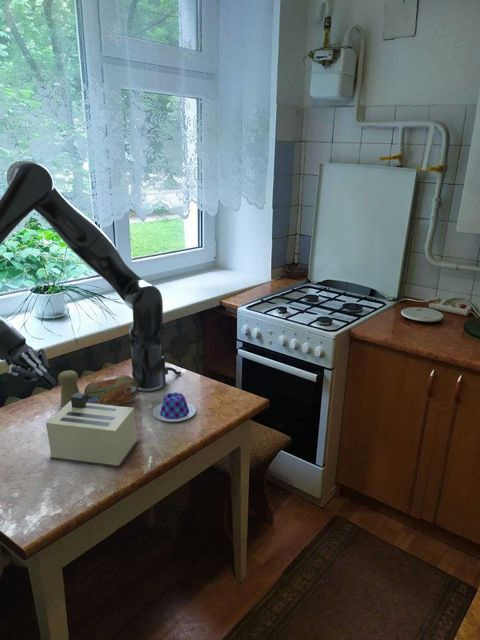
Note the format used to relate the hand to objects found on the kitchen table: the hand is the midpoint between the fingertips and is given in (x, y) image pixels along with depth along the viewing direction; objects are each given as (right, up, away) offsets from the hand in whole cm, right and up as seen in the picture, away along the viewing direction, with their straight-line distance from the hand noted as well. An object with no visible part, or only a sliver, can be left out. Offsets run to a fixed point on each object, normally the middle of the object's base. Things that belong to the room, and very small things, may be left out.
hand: (53, 387), depth 122 cm
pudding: (+26, -9, +19) cm, 34 cm away
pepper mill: (-3, -7, +20) cm, 22 cm away
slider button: (+6, -5, +1) cm, 8 cm away
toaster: (+10, -16, +1) cm, 19 cm away
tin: (+8, -7, +23) cm, 25 cm away
